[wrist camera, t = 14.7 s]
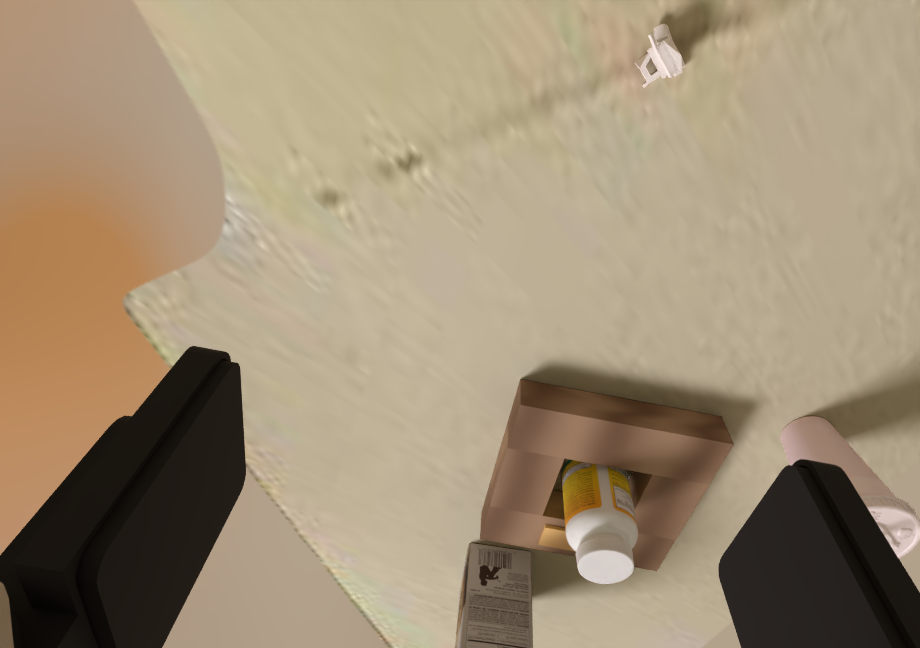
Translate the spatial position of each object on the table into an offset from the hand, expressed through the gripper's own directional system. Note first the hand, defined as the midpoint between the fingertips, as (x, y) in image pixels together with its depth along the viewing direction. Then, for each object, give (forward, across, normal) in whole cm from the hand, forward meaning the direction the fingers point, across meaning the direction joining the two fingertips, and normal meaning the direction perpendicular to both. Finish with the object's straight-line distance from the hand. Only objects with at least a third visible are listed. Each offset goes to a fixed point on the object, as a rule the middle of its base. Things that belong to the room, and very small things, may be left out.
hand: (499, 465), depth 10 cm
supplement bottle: (+28, -13, +28) cm, 42 cm away
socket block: (+28, -13, +28) cm, 42 cm away
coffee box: (+28, -8, +45) cm, 54 cm away
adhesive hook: (+29, -6, -3) cm, 30 cm away
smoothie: (+28, -28, +20) cm, 45 cm away
